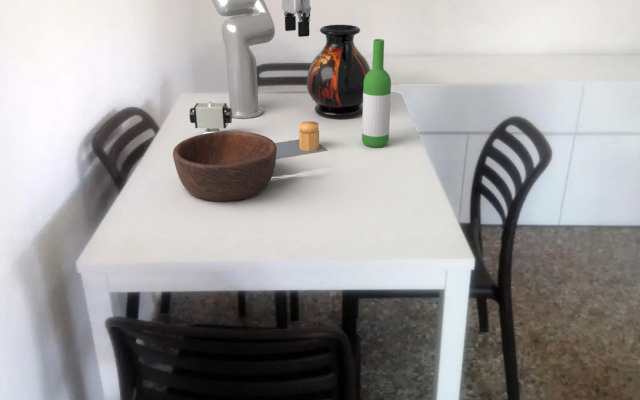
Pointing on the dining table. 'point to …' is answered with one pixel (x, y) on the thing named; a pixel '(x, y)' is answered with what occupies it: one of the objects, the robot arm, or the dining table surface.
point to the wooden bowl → (225, 164)
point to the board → (293, 149)
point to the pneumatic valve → (211, 116)
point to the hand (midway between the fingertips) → (297, 33)
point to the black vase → (338, 74)
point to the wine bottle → (376, 101)
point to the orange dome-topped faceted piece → (309, 136)
